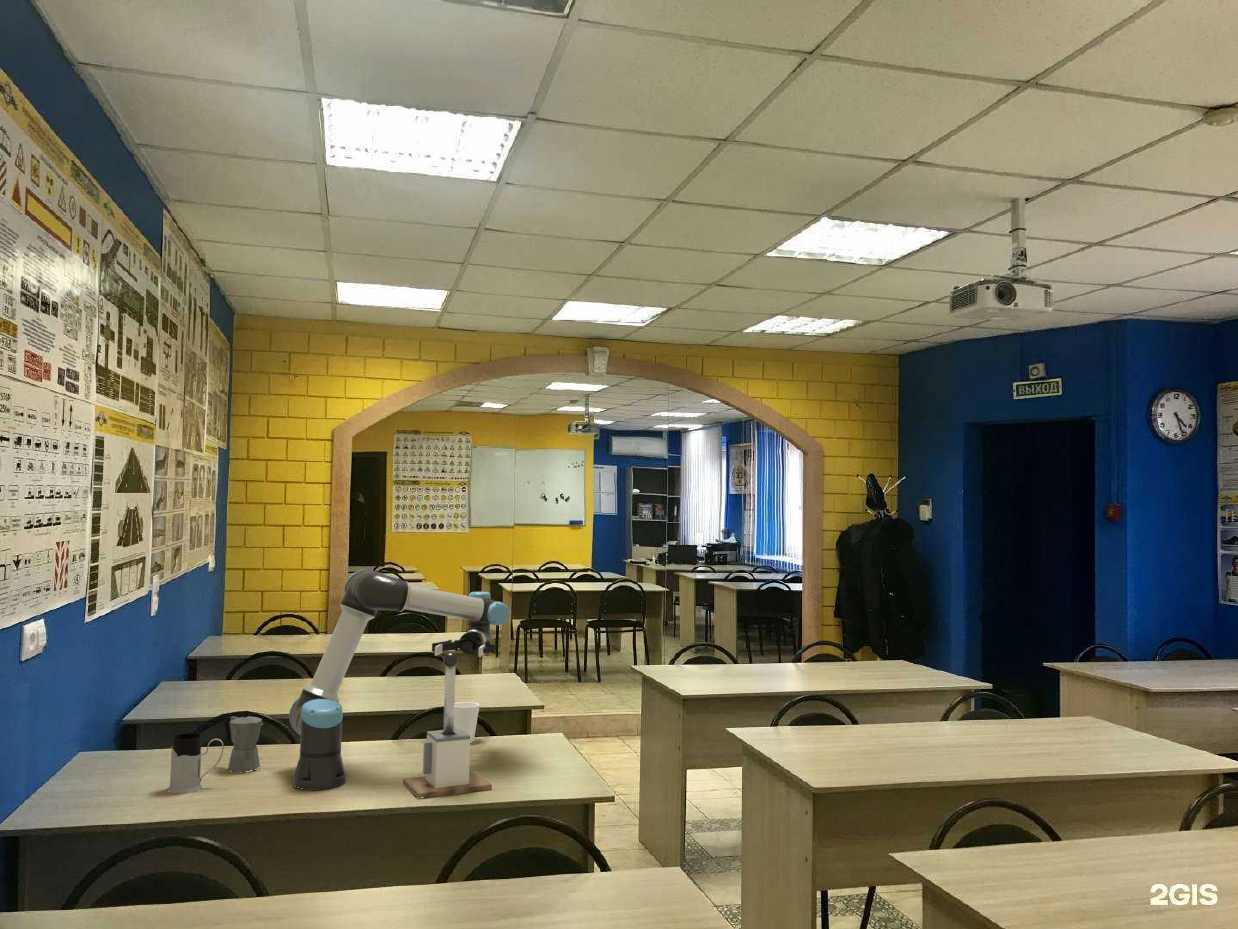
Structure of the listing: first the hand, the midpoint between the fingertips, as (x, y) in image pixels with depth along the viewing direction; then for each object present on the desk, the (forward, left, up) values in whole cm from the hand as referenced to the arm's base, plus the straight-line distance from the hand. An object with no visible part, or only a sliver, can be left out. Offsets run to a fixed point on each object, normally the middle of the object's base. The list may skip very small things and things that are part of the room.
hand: (457, 651), depth 283 cm
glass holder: (-71, +20, -38) cm, 83 cm away
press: (-6, -8, -37) cm, 38 cm away
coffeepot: (-57, +36, -38) cm, 77 cm away
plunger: (-5, -8, -25) cm, 27 cm away
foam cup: (+17, +41, -38) cm, 59 cm away
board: (-5, -8, -38) cm, 39 cm away
